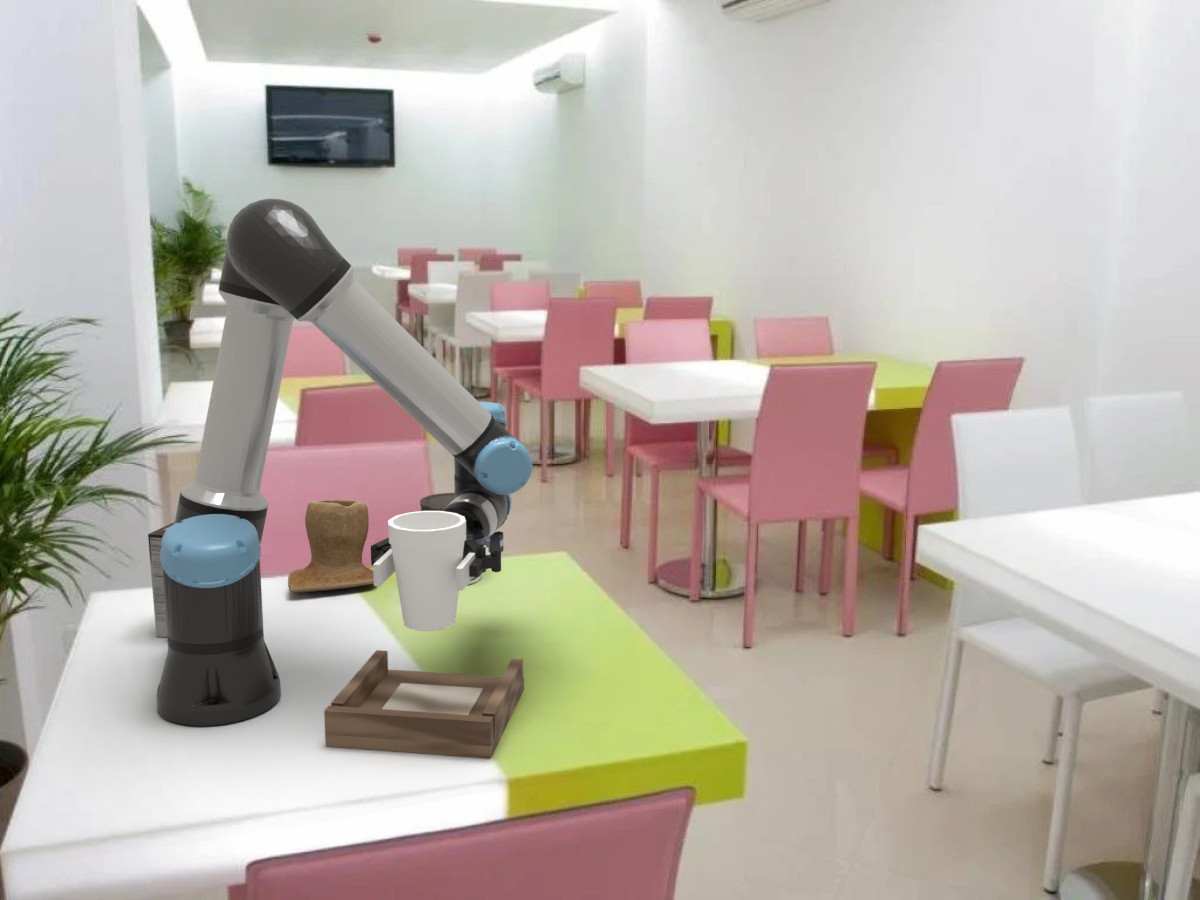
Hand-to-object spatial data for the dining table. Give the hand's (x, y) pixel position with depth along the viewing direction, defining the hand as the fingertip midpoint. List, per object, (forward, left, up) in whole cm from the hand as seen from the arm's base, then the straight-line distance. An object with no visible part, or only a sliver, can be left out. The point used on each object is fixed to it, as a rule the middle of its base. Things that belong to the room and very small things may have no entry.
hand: (417, 577), depth 134 cm
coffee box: (-52, +7, -20) cm, 56 cm away
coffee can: (-35, +48, -20) cm, 63 cm away
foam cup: (-2, +4, -7) cm, 9 cm away
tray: (-2, +4, -20) cm, 20 cm away
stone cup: (-50, +34, -20) cm, 63 cm away
